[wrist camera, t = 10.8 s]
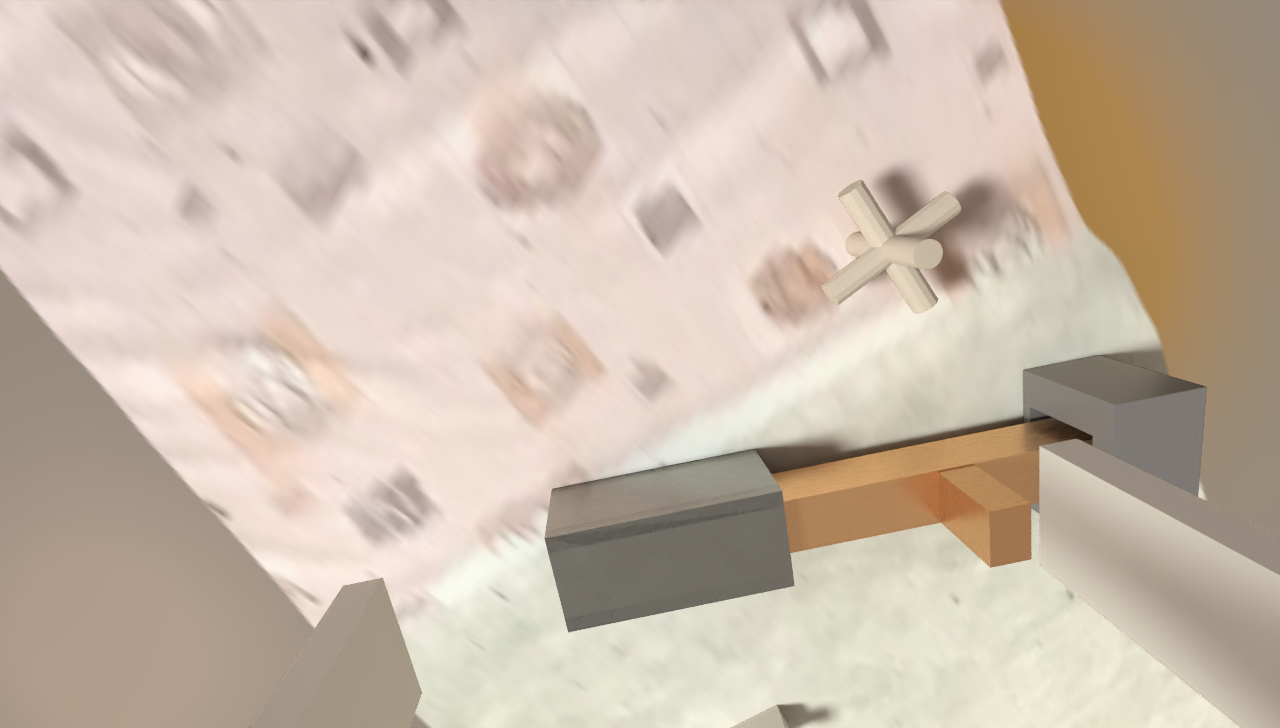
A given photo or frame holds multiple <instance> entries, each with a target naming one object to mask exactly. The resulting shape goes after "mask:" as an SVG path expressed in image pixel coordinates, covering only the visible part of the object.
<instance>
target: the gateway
mask: <svg viewBox="0 0 1280 728" xmlns="http://www.w3.org/2000/svg"><path fill="white" fill-rule="evenodd" d="M731 728H789V726H788V723H787V721H786V719H785V718H784V716H783V714H782V713H781V711H780V709H779V708H778V706H777V705H775V706H773V707H771V708H769V709H767V710H765V711H763V712H761V713H759V714H757V715H755V716H753V717H751V718H749V719H747V720H745V721H743V722H741V723H739V724H737V725H735V726H733V727H731Z"/></svg>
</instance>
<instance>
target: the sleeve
mask: <svg viewBox="0 0 1280 728" xmlns="http://www.w3.org/2000/svg"><path fill="white" fill-rule="evenodd" d="M545 542H546V546H547V550H548V554H549V558H550V562H551V565H552V569H553V573H554V577H555V581H556V585H557V589H558V593H559V597H560V601H561V605H562V609H563V613H564V617H565V621H566V625H567V629H568V632H572V631H577V630H581V629H586V628H591V627H596V626H601V625H606V624H611V623H616V622H620V621H625V620H630V619H635V618H640V617H645V616H650V615H655V614H660V613H664V612H669V611H674V610H679V609H684V608H689V607H694V606H699V605H704V604H708V603H713V602H718V601H723V600H728V599H733V598H738V597H743V596H747V595H752V594H757V593H762V592H767V591H772V590H777V589H782V588H787V587H791V586H794V578H793V571H792V563H791V555H790V547H789V539H788V532H787V524H786V516H785V508H784V500H783V493H782V490H781V488H780V487H779V485H778V484H777V482H776V480H775V479H774V477H773V476H772V474H771V473H770V471H769V470H768V468H767V467H766V465H765V464H764V462H763V461H762V459H761V458H760V456H759V455H758V453H757V452H756V450H755V449H752V450H747V451H742V452H737V453H732V454H727V455H721V456H716V457H711V458H706V459H701V460H696V461H691V462H686V463H681V464H676V465H671V466H666V467H661V468H656V469H651V470H646V471H641V472H636V473H631V474H626V475H621V476H616V477H611V478H606V479H601V480H596V481H591V482H586V483H581V484H576V485H571V486H565V487H560V488H555V489H552V493H551V500H550V506H549V513H548V520H547V526H546V533H545Z"/></svg>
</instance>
